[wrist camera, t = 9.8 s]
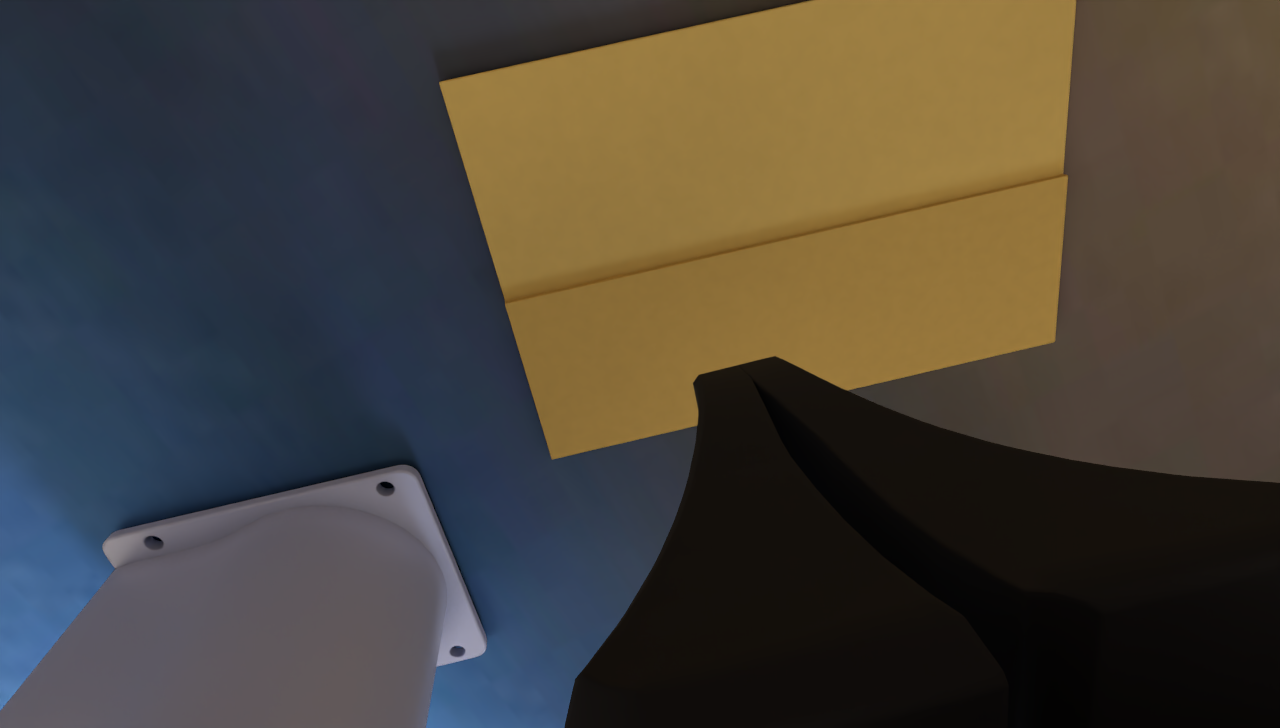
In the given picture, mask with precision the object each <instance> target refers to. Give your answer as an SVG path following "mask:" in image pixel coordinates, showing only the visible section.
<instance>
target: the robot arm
mask: <svg viewBox="0 0 1280 728" xmlns="http://www.w3.org/2000/svg"><path fill="white" fill-rule="evenodd" d="M693 386H694V391H695V396H696V401H697V406H698V425H697V435H696V443H695V449H694V454H693V458H692V463H691V468H690V472H689V477H688V481H687V484H686V488H685V491H684V494H683V497H682V501H681V503H680V506H679V509H678V512H677V515H676V517H675V520H674V523H673V525H672V527H671V529H670V532H669V534H668V536H667V539H666V541H665V543H664V545H663V548H662V550H661V552H660V554H659V556H658V558H657V560H656V562H655V564H654V566H653V568H652V570H651V571H650V573H649V575H648V576H647V578H646V580H645V581H644V583H643V585H642V586H641V588H640V590H639V591H638V593H637V595H636V596H635V598H634V600H633V601H632V603H631V605H630V606H629V608H628V610H627V611H626V613H625V614H624V616H623V617H622V619H621V620H620V622H619V623H618V625H617V626H616V628H615V629H614V630H613V631H612V633H611V634H610V635H609V637H608V638H607V639H606V641H605V642H604V643H603V645H602V646H601V647H600V648H599V650H598V651H597V652H596V654H595V655H594V656H593V658H592V659H591V660H590V662H589V663H588V664H587V665H586V667H585V668H584V669H583V671H582V672H581V673H580V674H579V675H578V676H577V678H576V679H575V683H574V687H573V691H572V696H571V700H570V705H569V709H568V714H567V718H566V723H565V728H1280V483H1273V482H1260V481H1246V480H1232V479H1218V478H1204V477H1191V476H1181V475H1172V474H1165V473H1157V472H1149V471H1142V470H1134V469H1126V468H1119V467H1111V466H1105V465H1099V464H1093V463H1087V462H1081V461H1075V460H1069V459H1064V458H1059V457H1054V456H1050V455H1045V454H1040V453H1035V452H1030V451H1025V450H1021V449H1016V448H1012V447H1008V446H1004V445H1000V444H995V443H991V442H988V441H984V440H981V439H977V438H974V437H970V436H967V435H963V434H960V433H957V432H953V431H950V430H946V429H943V428H940V427H937V426H934V425H931V424H928V423H925V422H922V421H919V420H917V419H914V418H911V417H909V416H906V415H904V414H901V413H898V412H896V411H893V410H891V409H888V408H885V407H883V406H881V405H878V404H876V403H874V402H871V401H869V400H866V399H864V398H862V397H860V396H857V395H855V394H853V393H851V392H849V391H847V390H844V389H842V388H840V387H838V386H836V385H834V384H832V383H830V382H828V381H826V380H824V379H822V378H820V377H818V376H816V375H814V374H812V373H809V372H807V371H805V370H804V369H802V368H800V367H798V366H796V365H794V364H791V363H789V362H787V361H785V360H783V359H781V358H779V357H776V356H773V357H768V358H764V359H760V360H756V361H752V362H748V363H744V364H740V365H736V366H732V367H728V368H724V369H720V370H716V371H712V372H708V373H704V374H700V375H698V376H697V378H696V379H695V381H694V382H693ZM381 482H389V483H391V484H392V485H393V486H394V487H393V488H384V487H382V486H381V485H380V483H381ZM152 536H156V537H159V538H160V539H161V540H162V541H157V540H155V539H154V538H153V537H152ZM102 549H103V551H104V554H105V555H106V557H107V558H108V559H109V561H110V562H111V564H112V565H113V567H114V568H115V570H114V571H113V573H112V574H111V575H110V576H109V578H108V579H107V580H106V581H105V582H104V584H103V585H102V586H101V587H100V589H99V590H98V591H97V592H96V594H95V595H94V596H93V597H92V599H91V600H90V601H89V602H88V603H87V605H86V606H85V607H84V608H83V610H82V611H81V612H80V613H79V615H78V616H77V617H76V618H75V620H74V621H73V622H72V623H71V625H70V626H69V627H68V628H67V629H66V631H65V632H64V633H63V634H62V636H61V637H60V638H59V639H58V641H57V642H56V643H55V644H54V646H53V647H52V648H51V649H50V650H49V652H48V653H47V654H46V655H45V657H44V658H43V659H42V660H41V662H40V663H39V664H38V665H37V667H36V668H35V669H34V670H33V671H32V673H31V674H30V675H29V676H28V678H27V679H26V680H25V681H24V683H23V684H22V685H21V686H20V688H19V689H18V690H17V691H16V693H15V694H14V695H13V696H12V697H11V699H10V700H9V701H8V702H7V704H6V705H5V706H4V707H3V709H2V710H1V711H0V728H426V723H427V717H428V711H429V706H430V700H431V694H432V688H433V683H434V677H435V671H436V666H441V665H445V664H449V663H453V662H457V661H461V660H466V659H470V658H474V657H477V656H480V655H482V654H483V653H484V652H485V650H486V647H487V637H486V634H485V632H484V629H483V627H482V624H481V622H480V620H479V617H478V615H477V612H476V610H475V607H474V605H473V602H472V600H471V598H470V595H469V593H468V590H467V588H466V585H465V583H464V580H463V578H462V576H461V573H460V571H459V568H458V566H457V563H456V561H455V559H454V556H453V554H452V551H451V549H450V546H449V544H448V541H447V539H446V537H445V534H444V532H443V529H442V527H441V524H440V522H439V520H438V517H437V515H436V512H435V510H434V507H433V505H432V502H431V500H430V498H429V495H428V493H427V490H426V488H425V485H424V483H423V481H422V478H421V476H420V474H419V472H418V471H417V470H416V469H415V468H413V467H412V466H408V465H396V466H392V467H388V468H384V469H379V470H375V471H371V472H366V473H362V474H358V475H353V476H349V477H345V478H341V479H336V480H332V481H328V482H323V483H319V484H315V485H311V486H306V487H302V488H298V489H293V490H289V491H285V492H280V493H276V494H272V495H268V496H263V497H259V498H255V499H250V500H246V501H242V502H238V503H233V504H229V505H225V506H220V507H216V508H212V509H207V510H203V511H199V512H195V513H190V514H186V515H182V516H177V517H173V518H169V519H164V520H160V521H156V522H152V523H147V524H143V525H139V526H134V527H130V528H126V529H122V530H118V531H115V532H113V533H112V534H111V535H110V536H109V537H108V538H107V539H106V541H105V542H104V543H103V547H102ZM454 646H461V647H462V648H456V647H454Z"/></svg>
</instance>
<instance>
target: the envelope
mask: <svg viewBox="0 0 1280 728" xmlns="http://www.w3.org/2000/svg"><path fill="white" fill-rule="evenodd" d="M1075 11H1076V0H809V1H805V2H800V3H796V4H791V5H786V6H782V7H777V8H773V9H768V10H764V11H759V12H755V13H750V14H745V15H741V16H736V17H732V18H727V19H723V20H718V21H714V22H709V23H704V24H700V25H695V26H691V27H686V28H682V29H677V30H673V31H668V32H663V33H659V34H654V35H650V36H645V37H641V38H636V39H632V40H627V41H622V42H618V43H613V44H609V45H604V46H600V47H595V48H591V49H586V50H581V51H577V52H572V53H568V54H563V55H559V56H554V57H550V58H545V59H540V60H536V61H531V62H527V63H522V64H518V65H513V66H509V67H504V68H499V69H495V70H490V71H486V72H481V73H477V74H472V75H468V76H463V77H458V78H454V79H449V80H445V81H441V82H439V84H440V87H441V91H442V94H443V97H444V101H445V104H446V107H447V111H448V114H449V117H450V121H451V124H452V127H453V130H454V134H455V137H456V140H457V144H458V147H459V150H460V154H461V157H462V160H463V164H464V167H465V170H466V173H467V177H468V180H469V183H470V187H471V190H472V193H473V197H474V200H475V203H476V207H477V210H478V213H479V216H480V220H481V223H482V226H483V230H484V233H485V236H486V240H487V243H488V246H489V250H490V253H491V256H492V259H493V263H494V266H495V269H496V273H497V276H498V279H499V283H500V286H501V289H502V293H503V296H504V299H505V307H506V310H507V313H508V316H509V320H510V323H511V326H512V330H513V333H514V336H515V340H516V343H517V346H518V349H519V353H520V356H521V359H522V363H523V366H524V369H525V372H526V376H527V379H528V382H529V386H530V389H531V392H532V396H533V399H534V402H535V405H536V409H537V412H538V415H539V419H540V422H541V425H542V429H543V432H544V435H545V438H546V442H547V445H548V448H549V452H550V455H551V458H552V459H556V458H560V457H565V456H569V455H573V454H578V453H582V452H586V451H590V450H595V449H599V448H603V447H608V446H612V445H616V444H620V443H625V442H629V441H633V440H637V439H642V438H646V437H650V436H655V435H659V434H663V433H667V432H672V431H676V430H680V429H684V428H689V427H693V426H697V425H698V406H697V401H696V396H695V391H694V386H693V382H694V381H695V379H696V378H697V376H698V375H700V374H704V373H708V372H712V371H716V370H720V369H724V368H728V367H732V366H736V365H740V364H744V363H748V362H752V361H756V360H760V359H764V358H768V357H773V356H776V357H779V358H781V359H783V360H785V361H787V362H789V363H791V364H794V365H796V366H798V367H800V368H802V369H804V370H805V371H807V372H809V373H812V374H814V375H816V376H818V377H820V378H822V379H824V380H826V381H828V382H830V383H832V384H834V385H836V386H838V387H840V388H842V389H844V390H851V389H855V388H860V387H864V386H868V385H873V384H877V383H881V382H885V381H890V380H894V379H898V378H902V377H907V376H911V375H915V374H920V373H924V372H928V371H932V370H937V369H941V368H945V367H950V366H954V365H958V364H962V363H967V362H971V361H975V360H979V359H984V358H988V357H992V356H997V355H1001V354H1005V353H1009V352H1014V351H1018V350H1022V349H1026V348H1031V347H1035V346H1039V345H1044V344H1048V343H1052V342H1055V334H1056V321H1057V309H1058V296H1059V283H1060V271H1061V258H1062V246H1063V233H1064V221H1065V208H1066V195H1067V183H1068V175H1064V174H1063V169H1064V155H1065V142H1066V129H1067V116H1068V103H1069V90H1070V77H1071V64H1072V51H1073V37H1074V24H1075Z"/></svg>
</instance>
